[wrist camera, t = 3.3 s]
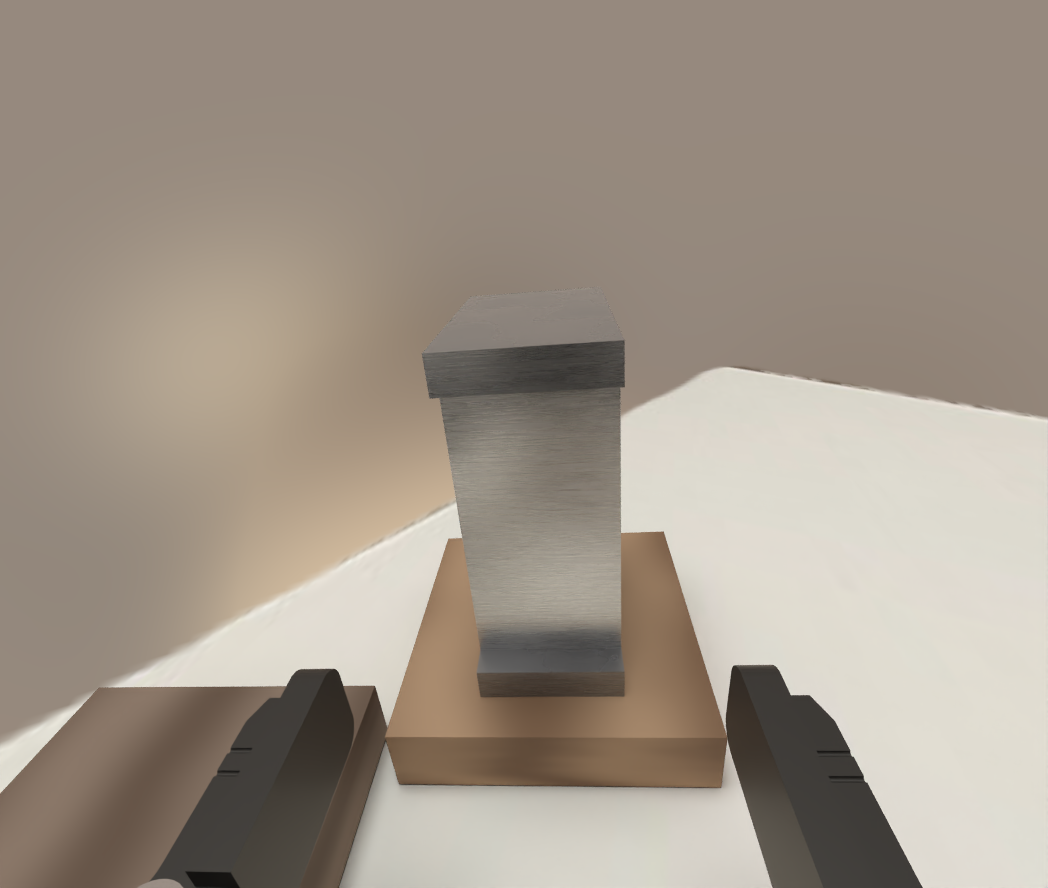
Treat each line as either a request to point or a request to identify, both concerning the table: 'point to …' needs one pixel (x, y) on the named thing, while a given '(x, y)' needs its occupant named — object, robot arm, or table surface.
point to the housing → (537, 485)
